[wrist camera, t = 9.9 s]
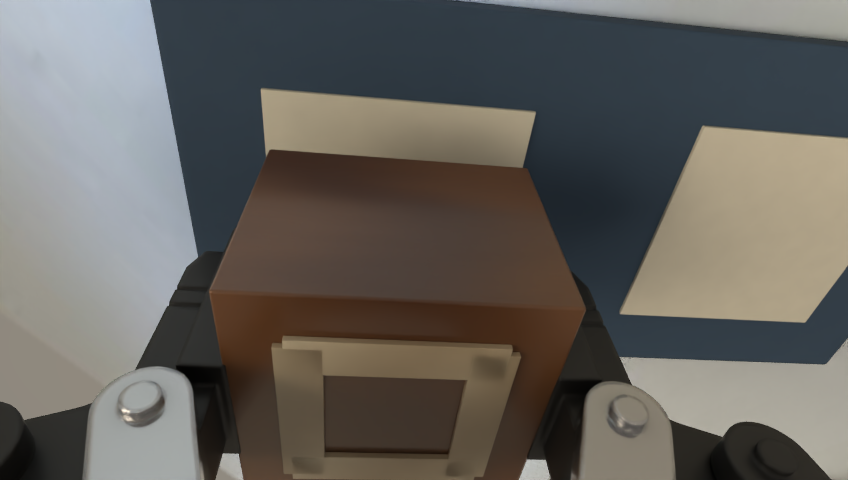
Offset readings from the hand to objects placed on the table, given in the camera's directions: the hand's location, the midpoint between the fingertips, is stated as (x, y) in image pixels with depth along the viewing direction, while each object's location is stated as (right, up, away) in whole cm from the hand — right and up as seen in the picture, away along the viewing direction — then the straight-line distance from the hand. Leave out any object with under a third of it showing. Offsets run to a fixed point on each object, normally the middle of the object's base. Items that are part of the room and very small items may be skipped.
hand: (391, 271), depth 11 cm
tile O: (0, 0, 0) cm, 0 cm away
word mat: (+5, +1, +3) cm, 6 cm away
